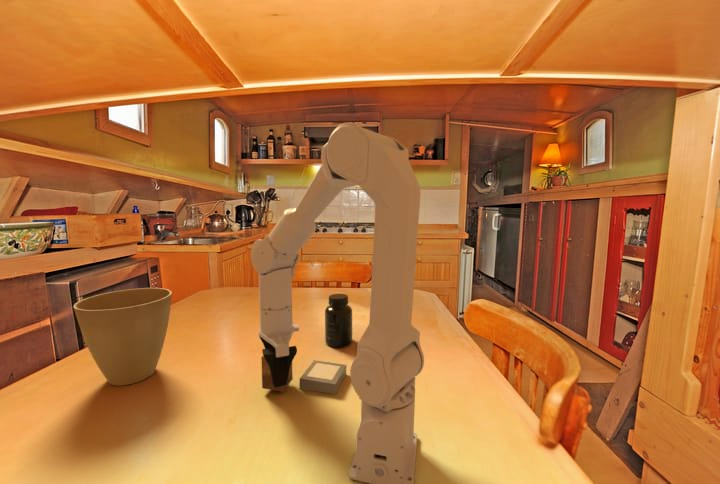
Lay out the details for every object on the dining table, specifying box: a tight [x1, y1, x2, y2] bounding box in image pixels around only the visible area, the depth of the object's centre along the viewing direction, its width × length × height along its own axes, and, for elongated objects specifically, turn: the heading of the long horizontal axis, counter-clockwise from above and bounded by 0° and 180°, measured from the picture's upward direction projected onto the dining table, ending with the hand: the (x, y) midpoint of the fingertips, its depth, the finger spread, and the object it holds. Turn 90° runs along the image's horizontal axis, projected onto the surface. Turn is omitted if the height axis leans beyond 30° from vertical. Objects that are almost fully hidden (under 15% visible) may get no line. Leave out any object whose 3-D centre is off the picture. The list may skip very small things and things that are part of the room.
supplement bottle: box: [324, 293, 353, 349], centre depth 75 cm, size 7×7×12 cm
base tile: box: [299, 359, 347, 395], centre depth 59 cm, size 7×7×2 cm
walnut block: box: [260, 347, 294, 393], centre depth 56 cm, size 4×4×6 cm
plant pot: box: [72, 287, 173, 387], centre depth 59 cm, size 15×15×16 cm
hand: (277, 376), depth 56 cm, fingers closed on walnut block, 6 cm apart
